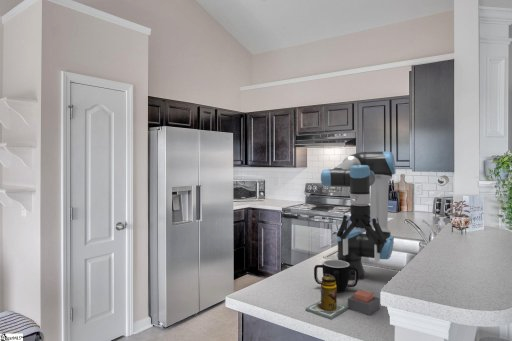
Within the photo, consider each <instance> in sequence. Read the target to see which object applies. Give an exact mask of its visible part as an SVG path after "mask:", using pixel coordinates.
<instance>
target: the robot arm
mask: <svg viewBox="0 0 512 341" xmlns="http://www.w3.org/2000/svg"><path fill="white" fill-rule="evenodd" d="M396 170H397V169H396V162H395V157H394V154H393V152H391V151H384V150H381V151H361V152H357V153H353V154H350V155H348V156H347V157H345V158H344V159H343V161H342V162H341V163H340V164H338V165H337V166H335V167H334V168H332V169H331V168H328V169H327V168H326V169H322V171H321V173H320V183H321V185H322V187H323V186H324V187H336V188H337V187H340V188H342V187H345V188H350V189H349V194H350V195H349V198H350V199H349V200H350V206H349V207H350V208H349V211H350V212H349V213H350V215H349V214H344V215H343V217H342V222H341V224H340V226H339V228H338V231H337V233H336V237H337V260H341V261H345V262H347V263H349V264H350V267H353V268H357V270H358V281H359V280H362V279H364V278H366V272H365V268H364V265H363V261H362V258H368V259H374V263H377V262H380V261H381V260H390V258H391V257H392V253H393V249H394V242H395V241H394V240H395V239H394V236H393V235H391V234H392V233H391V231H390V230H389V229H388V220H389V219H388V218H389V217H388V216H389V190H390V188H389V185H390V183H389V182H390V180H392V179H393V175H395V174H396ZM349 221H350V222H351V223H350V224H349V225H348V223H349ZM347 226H348V227H347ZM355 228H356V229H355ZM361 229H364V230H365V233H362V230H361ZM348 281H355V270H350V272H349V280H348Z"/></svg>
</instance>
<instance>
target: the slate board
mask: <svg viewBox="0 0 512 341" xmlns="http://www.w3.org/2000/svg"><path fill="white" fill-rule="evenodd" d="M316 303H321V300H318V301H317V302H316ZM337 308H338V312H327V311H316V307H315V303H313V304H312V305H309V306H307V307H306V308H305V311H306V312H309V313H312V314H315V315H317V316H319V317H323V318H326V319H329V320H333V319H334V318H336V317H338V316H340V315H341V314H342V313H344V312H346V311H348V310H349V309H348V305H347V306H346V305H343V304H340V303H337Z"/></svg>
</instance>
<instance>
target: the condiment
mask: <svg viewBox="0 0 512 341" xmlns="http://www.w3.org/2000/svg"><path fill="white" fill-rule="evenodd" d="M321 281H322V284H320V301H321V303H317V302H315V303H314V304H315V307H316V311H327V312H338V308H337V304H338V301H337V299H338V297H337V296H338V295H337V293H338V292H337V286H336V279H335V278H334V277H332V276H324V277H323V276H322V278H321Z"/></svg>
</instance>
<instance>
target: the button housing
mask: <svg viewBox="0 0 512 341" xmlns="http://www.w3.org/2000/svg"><path fill="white" fill-rule="evenodd" d="M380 300H381V299H380V297H378V296H377V297H376V296H374V295H373V300H371V301H370V302H368V303H367V302H363V301H360V300H356V299H354V295H351V296H349V297H348V298H347V307H348V310H352V311H354V312H356V313H360V314H364V315H367V316H371V315H372V314H373V313H375V312H376V311H378V310H379V309H380V308H381V306H380V305H381V303H380Z"/></svg>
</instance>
